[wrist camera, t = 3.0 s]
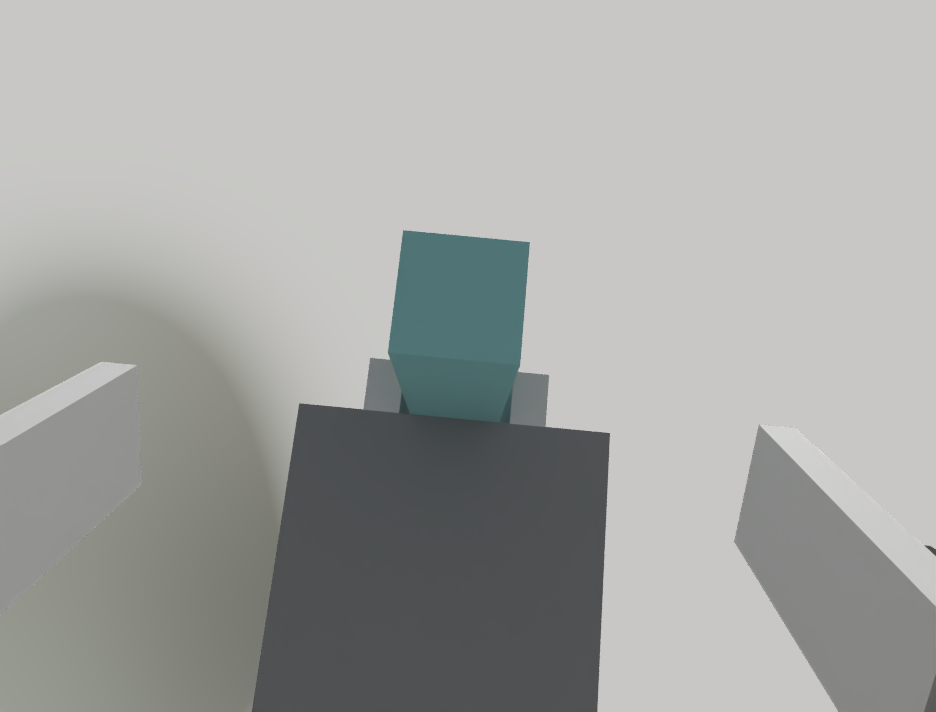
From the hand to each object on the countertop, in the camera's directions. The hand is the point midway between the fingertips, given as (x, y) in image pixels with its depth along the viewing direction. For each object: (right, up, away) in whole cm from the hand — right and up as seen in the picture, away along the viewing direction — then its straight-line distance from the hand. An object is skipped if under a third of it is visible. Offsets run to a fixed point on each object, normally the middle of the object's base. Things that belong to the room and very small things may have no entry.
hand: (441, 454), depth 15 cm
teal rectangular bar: (0, -1, +19) cm, 19 cm away
